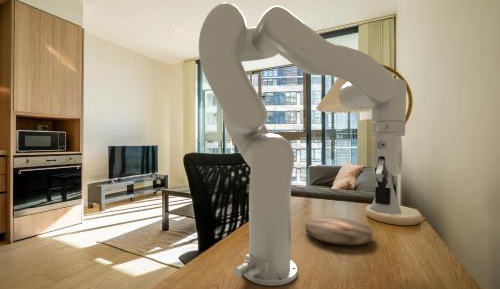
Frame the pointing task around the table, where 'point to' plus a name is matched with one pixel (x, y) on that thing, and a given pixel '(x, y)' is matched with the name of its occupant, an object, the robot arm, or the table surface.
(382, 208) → the flask
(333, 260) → the table surface
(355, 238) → the turntable
